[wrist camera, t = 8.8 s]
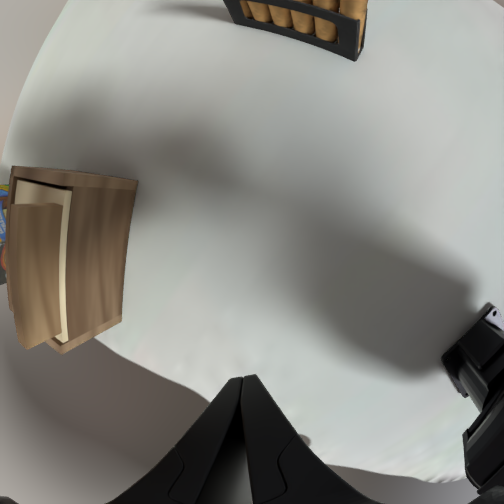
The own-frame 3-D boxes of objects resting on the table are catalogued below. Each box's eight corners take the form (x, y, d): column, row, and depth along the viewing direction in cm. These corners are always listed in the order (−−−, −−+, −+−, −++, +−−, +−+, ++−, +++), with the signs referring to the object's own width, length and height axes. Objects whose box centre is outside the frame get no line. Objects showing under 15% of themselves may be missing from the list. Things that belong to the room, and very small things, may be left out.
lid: (72, 191, 14) (20, 190, 10) (68, 340, 16) (29, 360, 12) (22, 180, 16) (-17, 179, 12) (20, 301, 18) (-13, 313, 14)
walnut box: (137, 180, 21) (64, 172, 13) (121, 321, 23) (61, 354, 16) (74, 170, 23) (11, 165, 15) (64, 289, 25) (9, 308, 17)
